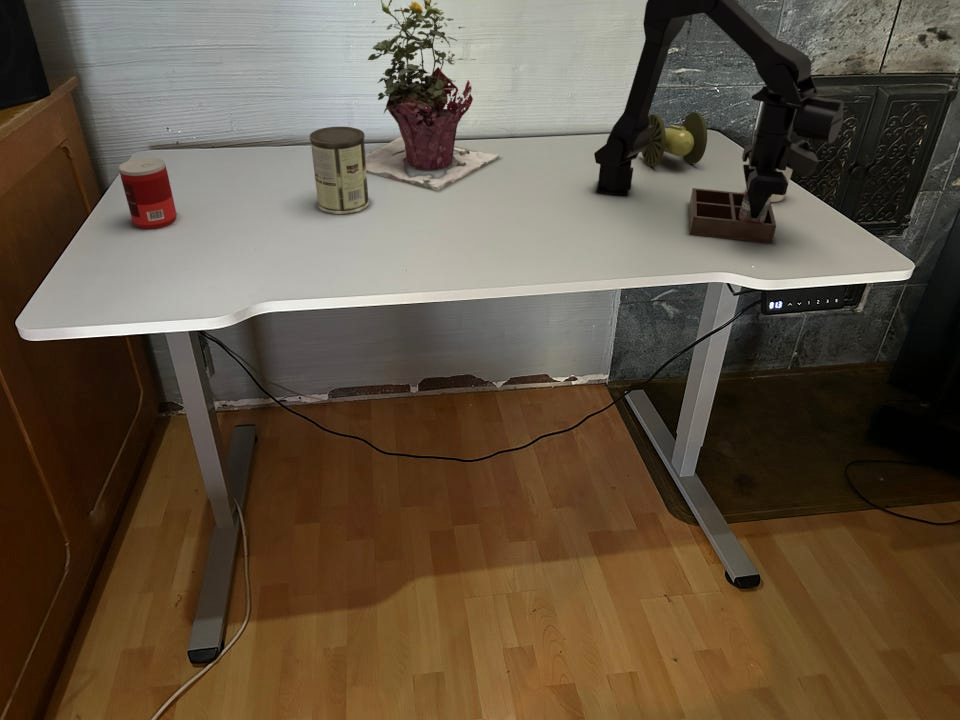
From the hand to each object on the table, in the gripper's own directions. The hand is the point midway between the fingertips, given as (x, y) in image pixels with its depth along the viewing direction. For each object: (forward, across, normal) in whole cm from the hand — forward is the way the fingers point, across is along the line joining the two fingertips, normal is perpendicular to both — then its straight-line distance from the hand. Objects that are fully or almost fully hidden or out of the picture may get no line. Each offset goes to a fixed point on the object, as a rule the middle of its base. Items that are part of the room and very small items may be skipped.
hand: (753, 212), depth 140 cm
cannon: (+4, +40, +18) cm, 44 cm away
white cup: (+4, +20, -5) cm, 21 cm away
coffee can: (+5, -8, +79) cm, 80 cm away
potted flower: (+5, +20, +71) cm, 74 cm away
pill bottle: (+2, 0, 0) cm, 2 cm away
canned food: (+5, -25, +110) cm, 113 cm away
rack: (+4, +4, +4) cm, 6 cm away
